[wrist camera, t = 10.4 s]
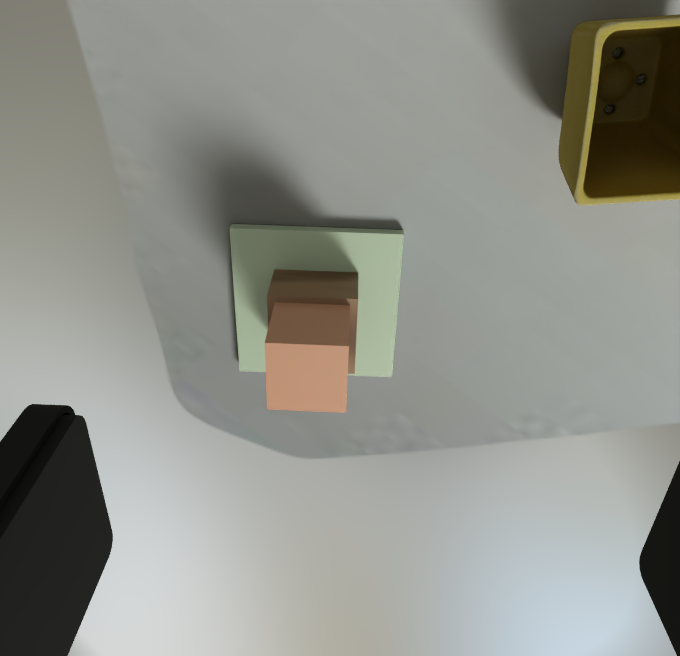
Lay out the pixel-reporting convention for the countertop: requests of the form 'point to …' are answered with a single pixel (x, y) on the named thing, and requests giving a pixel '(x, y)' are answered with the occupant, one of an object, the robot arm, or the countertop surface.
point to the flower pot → (623, 111)
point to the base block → (318, 295)
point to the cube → (307, 357)
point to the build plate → (318, 255)
